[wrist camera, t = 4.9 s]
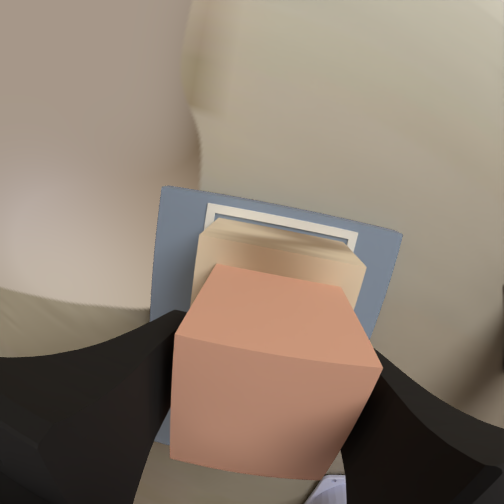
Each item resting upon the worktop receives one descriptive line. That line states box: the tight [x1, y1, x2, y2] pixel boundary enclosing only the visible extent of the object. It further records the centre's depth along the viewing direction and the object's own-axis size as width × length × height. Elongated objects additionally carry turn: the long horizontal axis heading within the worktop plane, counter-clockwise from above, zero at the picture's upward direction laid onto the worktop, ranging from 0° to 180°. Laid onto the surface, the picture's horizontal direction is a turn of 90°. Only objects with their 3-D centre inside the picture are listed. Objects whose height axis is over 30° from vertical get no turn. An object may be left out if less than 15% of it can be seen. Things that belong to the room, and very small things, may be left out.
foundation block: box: [190, 218, 367, 310], centre depth 13 cm, size 6×6×4 cm
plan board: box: [150, 186, 403, 445], centre depth 17 cm, size 12×18×1 cm, turn 170°
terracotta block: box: [170, 263, 383, 480], centre depth 9 cm, size 4×4×5 cm
